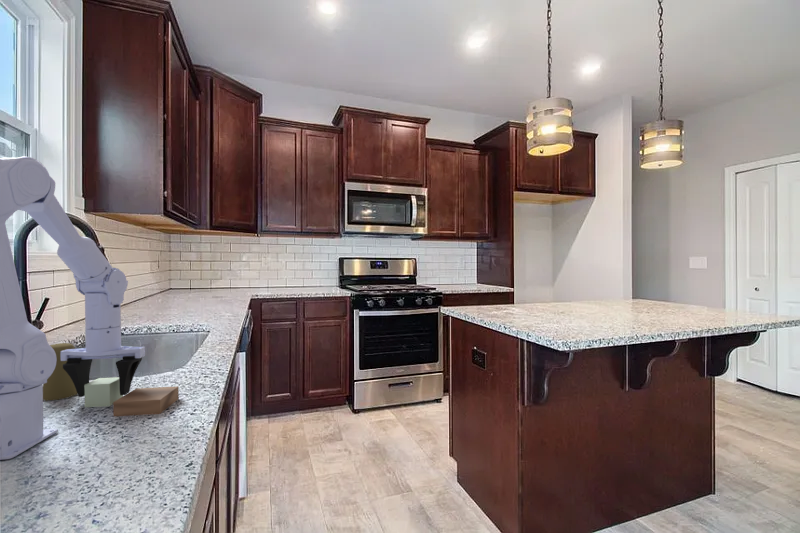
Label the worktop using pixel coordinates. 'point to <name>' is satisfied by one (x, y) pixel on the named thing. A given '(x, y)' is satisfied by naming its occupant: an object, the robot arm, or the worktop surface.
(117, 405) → the walnut block
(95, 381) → the sage cube
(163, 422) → the worktop surface
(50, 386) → the cork
